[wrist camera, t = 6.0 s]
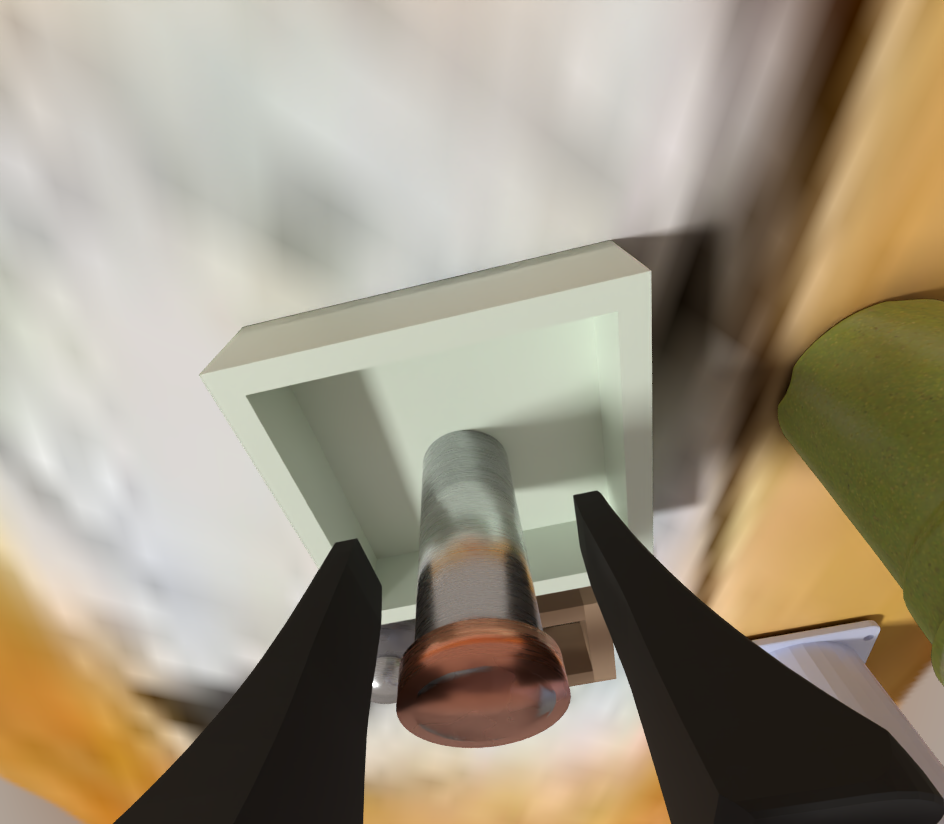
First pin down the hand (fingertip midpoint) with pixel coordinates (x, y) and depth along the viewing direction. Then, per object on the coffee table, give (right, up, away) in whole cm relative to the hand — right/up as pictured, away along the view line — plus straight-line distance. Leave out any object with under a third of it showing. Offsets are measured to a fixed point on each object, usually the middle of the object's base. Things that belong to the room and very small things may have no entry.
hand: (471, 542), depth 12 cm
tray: (0, +3, +4) cm, 5 cm away
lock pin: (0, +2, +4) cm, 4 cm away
